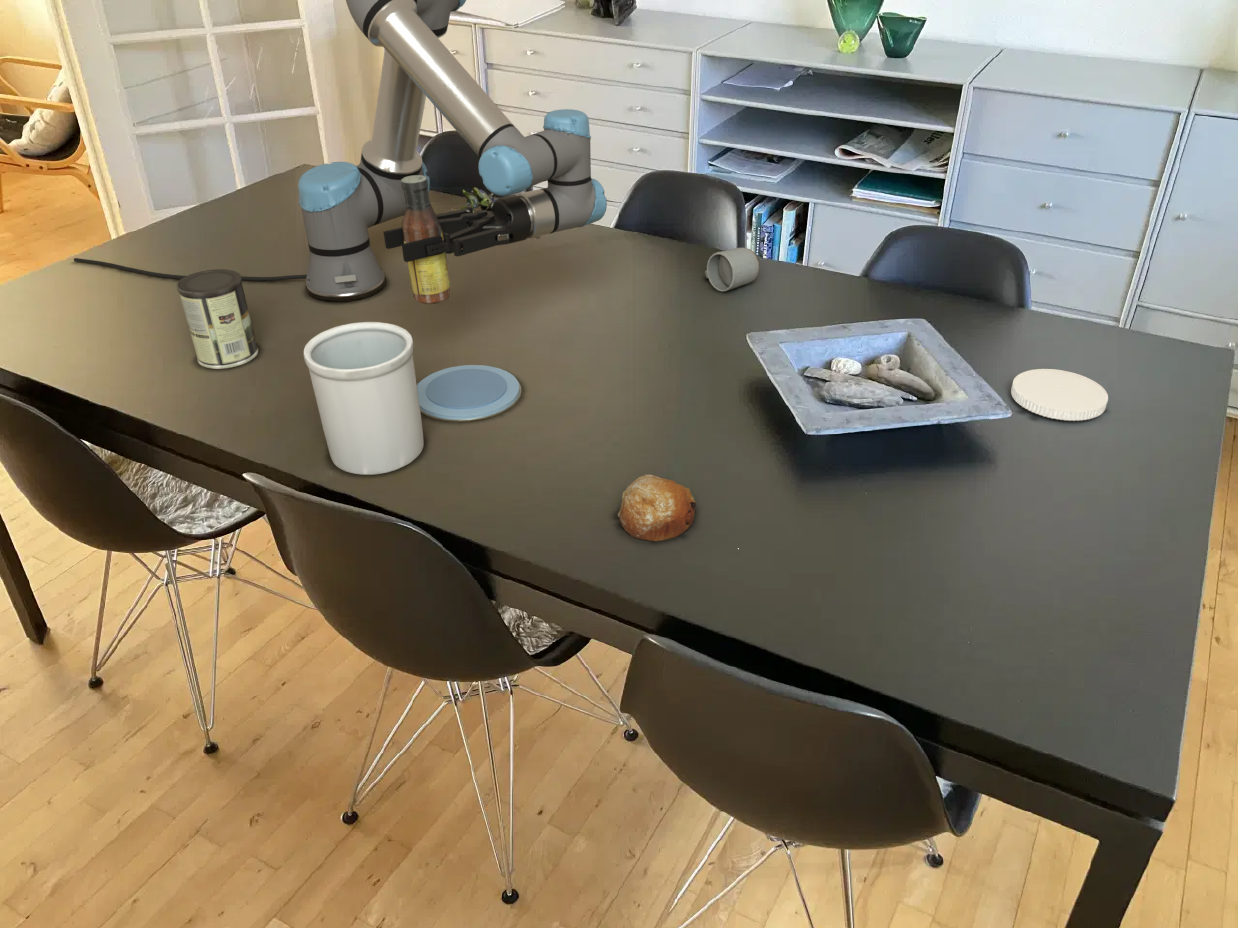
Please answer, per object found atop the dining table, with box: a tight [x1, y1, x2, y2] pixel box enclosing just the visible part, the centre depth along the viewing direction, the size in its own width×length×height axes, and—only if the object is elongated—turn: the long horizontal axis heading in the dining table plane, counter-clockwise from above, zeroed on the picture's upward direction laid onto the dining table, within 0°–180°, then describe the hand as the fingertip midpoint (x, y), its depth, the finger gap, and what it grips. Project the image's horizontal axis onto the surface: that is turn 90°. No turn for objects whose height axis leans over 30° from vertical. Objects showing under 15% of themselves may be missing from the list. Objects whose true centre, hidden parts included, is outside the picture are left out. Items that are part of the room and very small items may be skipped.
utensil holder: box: [303, 321, 425, 476], centre depth 142 cm, size 15×15×18 cm
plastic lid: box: [1010, 368, 1109, 422], centre depth 156 cm, size 14×14×2 cm
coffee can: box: [175, 268, 259, 370], centre depth 169 cm, size 10×10×14 cm
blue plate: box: [417, 364, 523, 423], centre depth 160 cm, size 18×18×1 cm
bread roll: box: [617, 473, 697, 542], centre depth 130 cm, size 10×10×8 cm
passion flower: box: [449, 187, 500, 213], centre depth 224 cm, size 11×11×12 cm
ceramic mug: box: [704, 247, 760, 293], centre depth 196 cm, size 11×8×8 cm
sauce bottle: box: [401, 175, 451, 305], centre depth 158 cm, size 6×6×20 cm
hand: (394, 246), depth 155 cm, fingers closed on sauce bottle, 6 cm apart
